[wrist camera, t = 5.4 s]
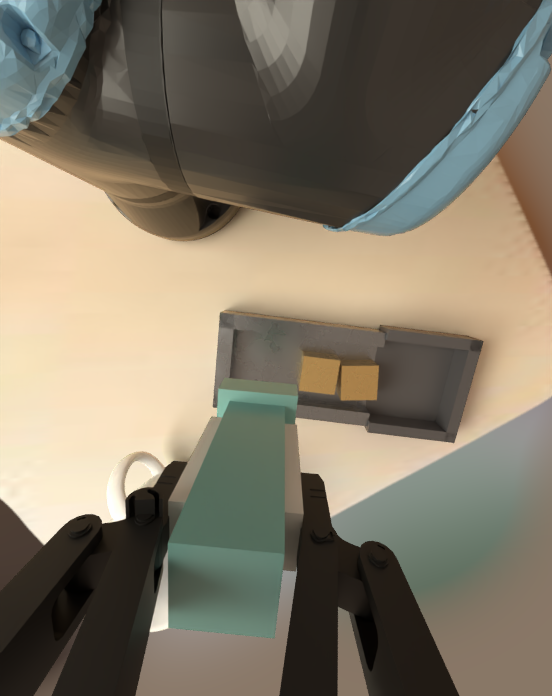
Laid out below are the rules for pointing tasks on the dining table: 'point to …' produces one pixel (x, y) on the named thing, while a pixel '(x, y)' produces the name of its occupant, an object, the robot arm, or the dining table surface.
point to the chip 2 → (357, 380)
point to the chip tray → (422, 383)
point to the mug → (118, 513)
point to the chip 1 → (318, 372)
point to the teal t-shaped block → (235, 518)
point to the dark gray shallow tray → (292, 357)
